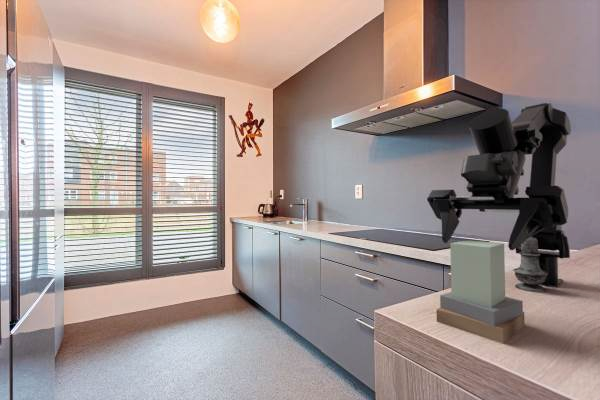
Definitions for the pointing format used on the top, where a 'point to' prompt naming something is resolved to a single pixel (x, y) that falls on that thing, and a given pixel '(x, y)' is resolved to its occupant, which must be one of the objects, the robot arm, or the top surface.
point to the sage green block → (478, 272)
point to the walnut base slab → (481, 325)
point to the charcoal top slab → (483, 309)
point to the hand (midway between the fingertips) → (474, 244)
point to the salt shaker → (530, 267)
